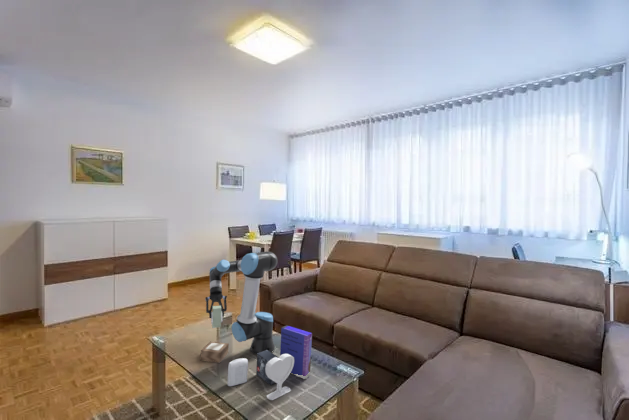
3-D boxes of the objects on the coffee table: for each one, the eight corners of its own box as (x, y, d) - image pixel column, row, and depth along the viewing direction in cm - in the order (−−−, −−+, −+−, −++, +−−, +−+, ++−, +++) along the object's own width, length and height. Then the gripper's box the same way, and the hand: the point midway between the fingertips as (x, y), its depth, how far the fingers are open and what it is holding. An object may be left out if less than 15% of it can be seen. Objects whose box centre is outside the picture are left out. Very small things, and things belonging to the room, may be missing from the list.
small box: (255, 374, 172) (256, 353, 172) (265, 370, 177) (266, 349, 177) (270, 385, 163) (271, 362, 163) (280, 380, 168) (281, 358, 168)
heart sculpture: (269, 401, 150) (271, 364, 149) (263, 396, 153) (264, 360, 153) (294, 389, 161) (295, 354, 160) (287, 384, 164) (289, 350, 164)
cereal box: (309, 375, 174) (312, 332, 173) (305, 379, 170) (307, 335, 169) (284, 365, 183) (286, 324, 182) (279, 369, 179) (281, 327, 178)
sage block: (220, 324, 203) (220, 305, 202) (220, 327, 198) (221, 308, 198) (211, 324, 201) (212, 306, 200) (212, 327, 196) (213, 308, 196)
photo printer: (245, 378, 169) (246, 355, 168) (248, 382, 165) (249, 358, 165) (226, 383, 163) (227, 359, 163) (229, 387, 159) (230, 363, 159)
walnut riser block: (228, 353, 195) (228, 343, 195) (220, 362, 183) (220, 352, 183) (209, 350, 196) (210, 341, 196) (200, 360, 184) (200, 349, 184)
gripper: (229, 290, 216) (231, 323, 202) (201, 292, 210) (201, 326, 195) (230, 285, 211) (232, 318, 196) (201, 286, 205) (201, 321, 190)
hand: (217, 322), depth 196 cm, fingers closed on sage block, 5 cm apart
